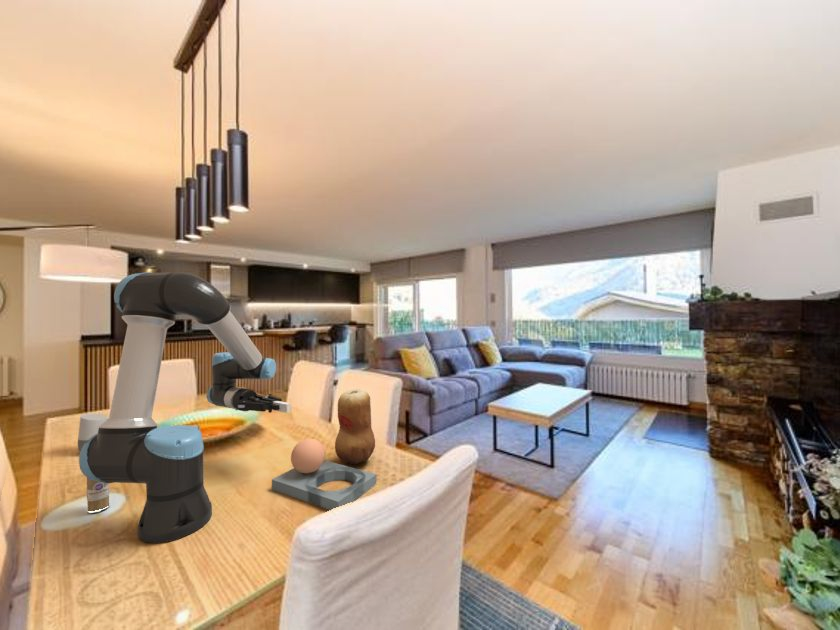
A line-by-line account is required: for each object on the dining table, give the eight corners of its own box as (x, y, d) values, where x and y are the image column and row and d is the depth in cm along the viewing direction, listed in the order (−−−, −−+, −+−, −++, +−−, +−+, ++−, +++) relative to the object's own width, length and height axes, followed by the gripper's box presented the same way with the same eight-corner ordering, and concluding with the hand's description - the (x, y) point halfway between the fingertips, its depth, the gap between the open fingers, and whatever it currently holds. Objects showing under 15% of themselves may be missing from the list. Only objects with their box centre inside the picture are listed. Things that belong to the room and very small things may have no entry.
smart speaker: (106, 453, 130) (105, 415, 130) (73, 457, 126) (72, 419, 126) (115, 444, 139) (114, 409, 138) (84, 448, 135) (83, 412, 134)
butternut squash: (326, 465, 118) (326, 392, 118) (352, 451, 130) (351, 384, 130) (359, 474, 112) (359, 397, 111) (383, 458, 124) (382, 388, 123)
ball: (320, 479, 103) (320, 445, 103) (286, 480, 103) (285, 446, 102) (328, 464, 113) (328, 433, 113) (297, 464, 113) (296, 434, 112)
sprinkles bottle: (91, 516, 90) (90, 464, 90) (83, 511, 92) (82, 461, 92) (113, 507, 94) (112, 458, 94) (105, 503, 96) (104, 454, 96)
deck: (272, 489, 103) (271, 479, 103) (314, 466, 118) (314, 457, 118) (338, 513, 91) (338, 501, 91) (376, 484, 106) (376, 474, 106)
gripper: (258, 405, 128) (304, 414, 117) (223, 414, 117) (271, 425, 106) (257, 384, 128) (304, 391, 117) (223, 392, 117) (271, 401, 106)
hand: (288, 408), depth 111 cm, fingers closed
